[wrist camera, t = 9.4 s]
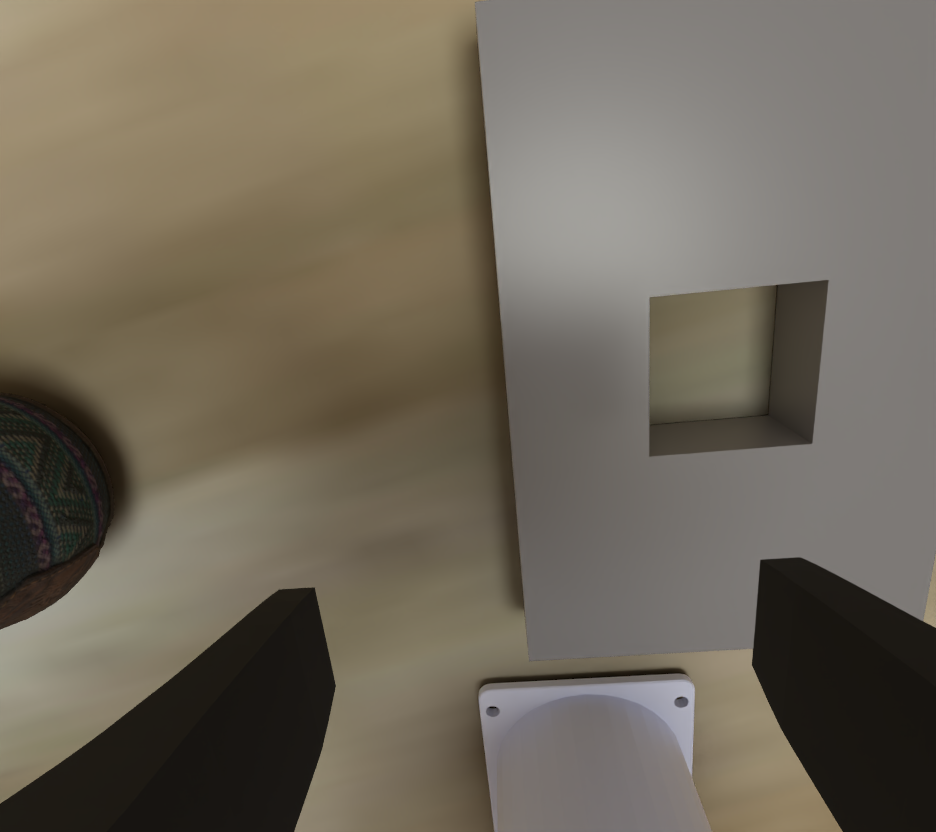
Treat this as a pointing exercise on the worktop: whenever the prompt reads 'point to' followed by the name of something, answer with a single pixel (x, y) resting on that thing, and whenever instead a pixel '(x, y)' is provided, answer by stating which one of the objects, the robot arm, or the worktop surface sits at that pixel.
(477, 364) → the worktop surface
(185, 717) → the robot arm
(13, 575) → the mate gourd
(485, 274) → the worktop surface
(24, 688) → the worktop surface
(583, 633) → the grey flat plate
